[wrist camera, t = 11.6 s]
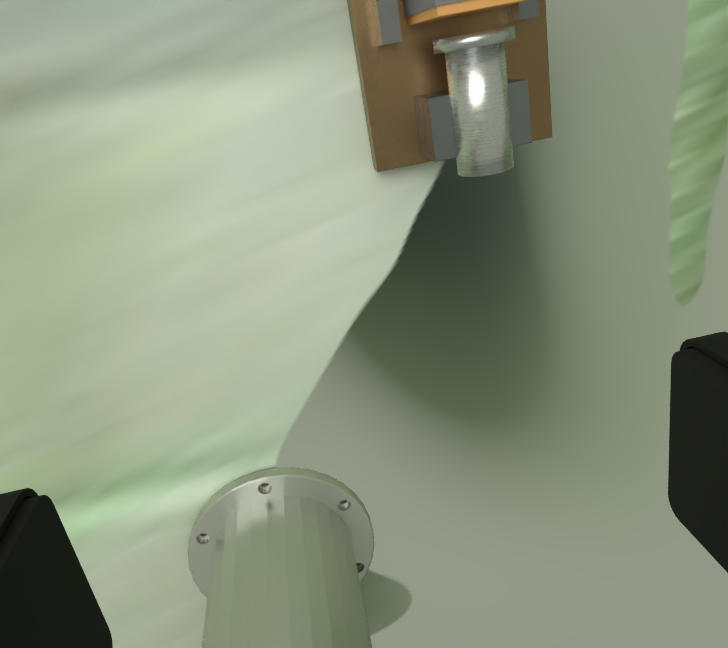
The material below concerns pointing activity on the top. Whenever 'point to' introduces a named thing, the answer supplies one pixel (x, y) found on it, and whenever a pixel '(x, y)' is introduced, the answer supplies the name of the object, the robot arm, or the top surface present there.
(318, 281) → the top surface
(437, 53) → the shaft bench
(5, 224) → the top surface
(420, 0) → the block
